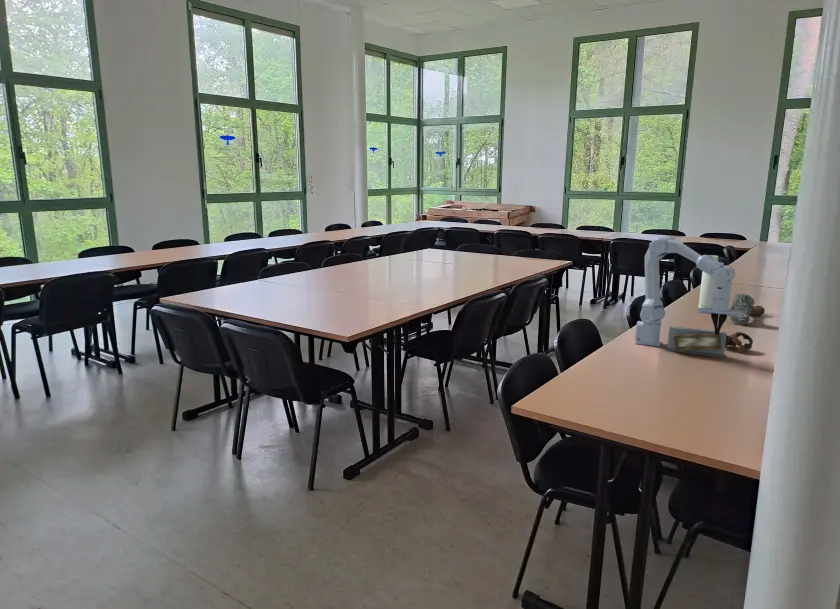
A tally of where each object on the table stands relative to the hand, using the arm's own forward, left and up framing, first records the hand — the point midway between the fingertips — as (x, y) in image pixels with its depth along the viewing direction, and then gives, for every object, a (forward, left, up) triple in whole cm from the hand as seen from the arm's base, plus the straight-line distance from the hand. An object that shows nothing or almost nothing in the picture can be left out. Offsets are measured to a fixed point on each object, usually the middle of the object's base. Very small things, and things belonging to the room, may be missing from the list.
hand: (716, 333), depth 215 cm
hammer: (+16, +74, -10) cm, 76 cm away
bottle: (-2, +91, -10) cm, 92 cm away
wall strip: (-7, +3, -10) cm, 12 cm away
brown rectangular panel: (-6, +1, -7) cm, 9 cm away
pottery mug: (+7, +16, -10) cm, 20 cm away
